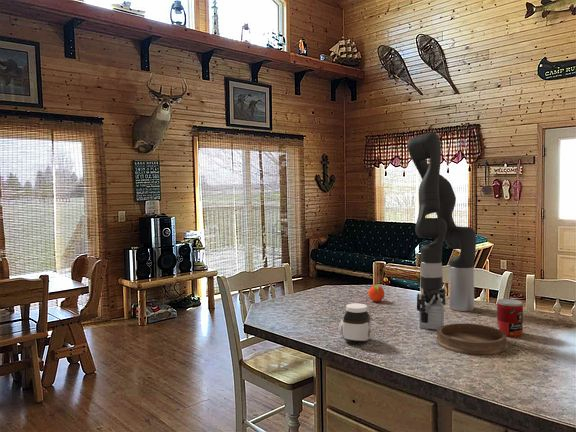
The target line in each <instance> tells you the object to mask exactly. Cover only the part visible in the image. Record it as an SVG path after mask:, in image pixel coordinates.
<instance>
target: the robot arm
mask: <svg viewBox="0 0 576 432" xmlns="http://www.w3.org/2000/svg"><path fill="white" fill-rule="evenodd" d="M407 150H408V153H409V156H410V158H411V160H412V162H413V164H414V166H415V168H416V170H417V172H418V174H419V175H420V177H421V178H420V179H421V181H420V185H419V187H418V206H419V207H418V216H417V219H416V220H417V221H416V222H415V228H414V231H415V234H416V236H417V237H418V238H420V239H435V240H434V241H433V242H431V243H429V244H424V245H422V246H421V248H420V266H419V274H420V275H419V279H420V281H419V282H420V283H419V286H420V289H422V291H423V292H422V293H417V294H416V311H418V312H419V311H420V312H421V322H422V323H428V313H427V312H428V309H429V307H431V305H432V304H433V303H443V304H444V306H445V305H446V289H445V288H443V273H444V272H443V263H442V261H443V258H442V257H443V256H442V255H443V253H442V251H443V245H444V242H445V244H446V246H447V247H448V248H449V249H452V250H460V251H459V255H458V256H456V257H452V258H450V259H449V260H448V261H449V270H448V271H449V281H448V282H449V285H448V286H449V287H448V288H449V297H448V299H449V309H450V310H453V311H456V312H457V311H459V312H469V311H473V310H475V309H474V308H475V285H474V284H475V283H474V282H475V281H474V280H475V279H474V278H475V275H474V274H475V273H474V272H475V269H474V267H475V265H474V264H475V259H476V250H477V249H476V248H477V234H476V231H475V230H474V228H472V227H470V226H458V225H456V223H455V221H454V218H453V212H454V209H455V206H456V202H457V201H456V200H457V197H456V194H455V191H454V189H453V186H452V184H451V183H450V181H449V180H448V179H447V178H445V177H444V176H443V175H442V174H440V173H441V171H440V170H441V159H442V144H441V140H440V138H439V135H438V134H437V133H436V132H434V131H432V132H428V133H427V132H426V133H424V134H420V135H416V136H414V137H411V138H409V139H408V140H407ZM427 160H429V162H428V161H427ZM434 213H435V214H436V217H427V215H430V214H434ZM425 302H426V303H425ZM420 304H421V308H420ZM425 306H426V308H425Z"/></svg>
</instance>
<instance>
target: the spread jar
mask: <svg viewBox="0 0 576 432" xmlns="http://www.w3.org/2000/svg"><path fill="white" fill-rule="evenodd" d="M345 310H346V311H345V313H344V315H343V318H342V319H341V320H340V322H339V323H338V326H337V330H338V332H339V333H340V334H341V335H342V337H343V340H344V341H345V342H347V343H348V344H350V345H364V344H365V345H366V343H369V341H370V338H371V334H372V333H371V332H372V324H371V323H372V321H371V319H372V318H371V314H370V313H369V312H368V304H365V303H353V302H352V303H348V304H346V305H345Z"/></svg>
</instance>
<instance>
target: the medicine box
mask: <svg viewBox="0 0 576 432" xmlns="http://www.w3.org/2000/svg"><path fill="white" fill-rule="evenodd" d="M425 303H426V302H425ZM444 306H445V305H444V304H443V303H433V304H432V305H431V307H429V309H428V312H427V313H428V323H422V322H421V312H420V311H418V314H419V315H418V316H419V323H418V324H419V325H418V327H419V329H424V330H425V329H426V330H437V331H438V329H439V327H442V326H444V325H445V318H444V317H445V315H444V314H445V312H444V311H445V309H444V308H445V307H444ZM420 308H421V304H420ZM425 308H426V306H425Z"/></svg>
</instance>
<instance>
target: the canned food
mask: <svg viewBox="0 0 576 432" xmlns="http://www.w3.org/2000/svg"><path fill="white" fill-rule="evenodd" d="M496 303H497V304H496V324H497V326H496V329H499V330H501V331H503V332H504V333H505V334H506V338H520V337H522V336H523V334H524V333H523V332H524V330H523V329H524V328H523V325H524V321H523V320H524V318H523V317H524V312H523V311H524V304H523V301H521V300H518V299H513V298H500V299H497V300H496Z"/></svg>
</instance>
